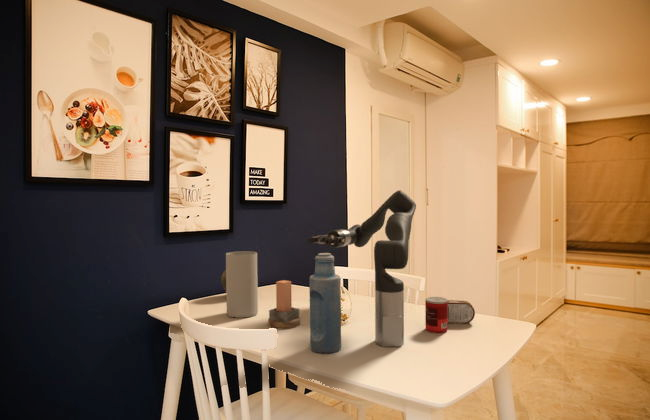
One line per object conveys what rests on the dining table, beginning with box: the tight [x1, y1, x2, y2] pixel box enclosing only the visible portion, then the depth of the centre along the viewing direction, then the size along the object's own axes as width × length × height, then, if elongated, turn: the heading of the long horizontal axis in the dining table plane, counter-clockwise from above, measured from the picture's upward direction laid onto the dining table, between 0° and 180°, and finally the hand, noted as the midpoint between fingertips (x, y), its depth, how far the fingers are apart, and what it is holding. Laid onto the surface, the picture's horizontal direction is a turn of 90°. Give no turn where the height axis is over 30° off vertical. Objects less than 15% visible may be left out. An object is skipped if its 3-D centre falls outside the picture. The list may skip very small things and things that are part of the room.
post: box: [275, 279, 293, 312], centre depth 158 cm, size 4×4×14 cm
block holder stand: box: [267, 306, 301, 330], centre depth 158 cm, size 12×12×6 cm
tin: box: [447, 299, 476, 325], centre depth 158 cm, size 15×3×8 cm, turn 84°
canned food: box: [424, 296, 449, 334], centre depth 150 cm, size 8×8×11 cm
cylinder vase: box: [225, 250, 259, 319], centre depth 172 cm, size 12×12×25 cm
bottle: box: [308, 252, 342, 354], centre depth 132 cm, size 10×10×30 cm
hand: (316, 241), depth 171 cm, fingers open, 8 cm apart
